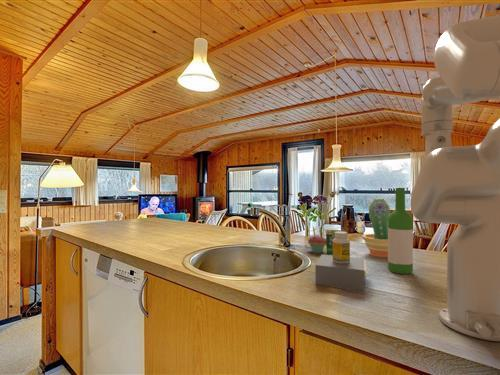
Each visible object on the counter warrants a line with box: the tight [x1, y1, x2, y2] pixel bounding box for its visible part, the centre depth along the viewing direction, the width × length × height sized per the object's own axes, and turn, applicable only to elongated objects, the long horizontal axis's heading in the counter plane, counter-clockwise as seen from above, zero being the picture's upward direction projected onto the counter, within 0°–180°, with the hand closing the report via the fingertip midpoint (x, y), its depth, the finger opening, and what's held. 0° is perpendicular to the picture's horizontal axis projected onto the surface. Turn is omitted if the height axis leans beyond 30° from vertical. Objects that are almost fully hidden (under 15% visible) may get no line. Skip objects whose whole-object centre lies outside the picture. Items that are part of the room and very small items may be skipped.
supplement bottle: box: [333, 231, 351, 264], centre depth 86 cm, size 5×5×10 cm
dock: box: [314, 254, 367, 292], centre depth 86 cm, size 14×14×6 cm
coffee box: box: [325, 229, 348, 255], centre depth 106 cm, size 8×3×13 cm, turn 63°
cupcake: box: [307, 226, 326, 254], centre depth 125 cm, size 9×8×12 cm
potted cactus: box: [361, 198, 391, 258], centre depth 119 cm, size 15×15×25 cm
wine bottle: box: [387, 187, 414, 275], centre depth 95 cm, size 8×8×30 cm
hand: (436, 186), depth 79 cm, fingers open, 9 cm apart
